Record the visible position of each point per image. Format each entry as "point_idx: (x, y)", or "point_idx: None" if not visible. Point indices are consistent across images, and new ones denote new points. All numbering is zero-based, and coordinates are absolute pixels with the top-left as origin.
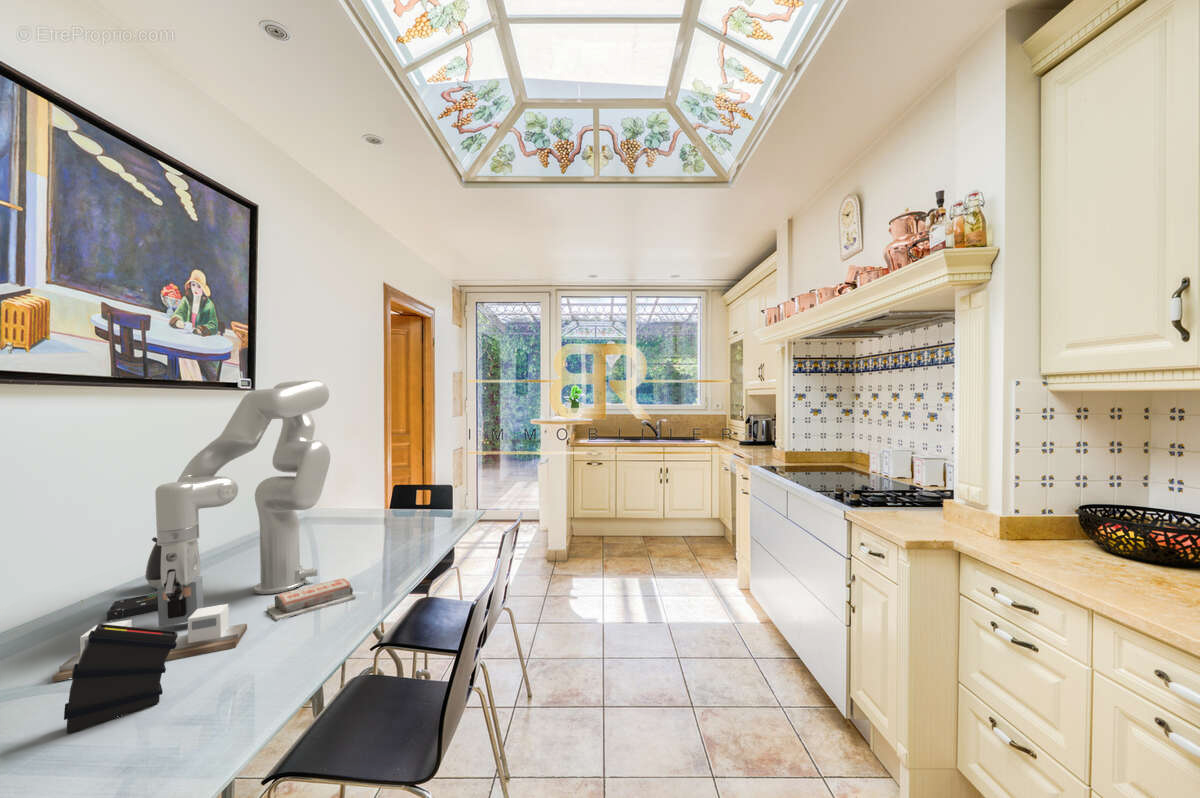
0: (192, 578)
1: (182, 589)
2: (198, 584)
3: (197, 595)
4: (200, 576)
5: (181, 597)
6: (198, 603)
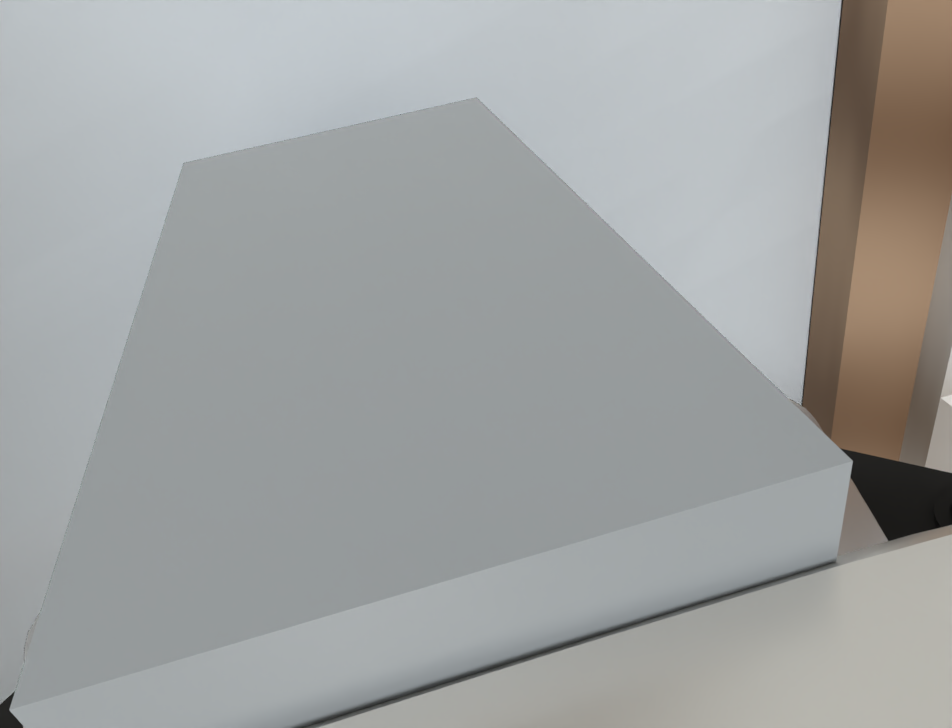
0: (863, 679)
1: (880, 540)
2: (495, 418)
3: (534, 248)
4: (105, 712)
5: (814, 418)
6: (443, 187)
